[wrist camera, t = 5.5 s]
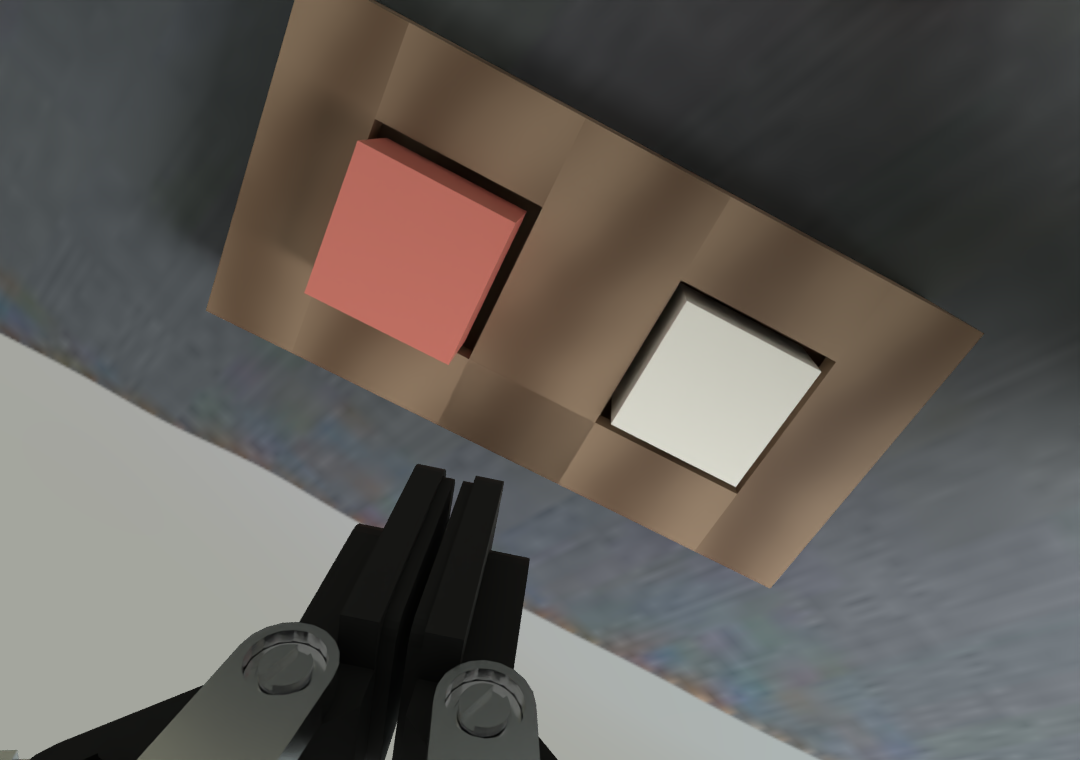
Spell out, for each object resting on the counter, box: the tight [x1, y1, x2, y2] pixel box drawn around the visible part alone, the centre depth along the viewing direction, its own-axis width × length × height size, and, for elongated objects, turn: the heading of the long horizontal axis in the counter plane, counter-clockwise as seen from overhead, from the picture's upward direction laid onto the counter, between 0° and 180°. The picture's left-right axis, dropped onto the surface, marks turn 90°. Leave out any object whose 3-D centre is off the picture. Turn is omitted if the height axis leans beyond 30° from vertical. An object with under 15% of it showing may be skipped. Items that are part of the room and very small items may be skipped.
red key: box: [304, 138, 527, 365], centre depth 25 cm, size 6×6×3 cm
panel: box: [206, 0, 984, 588], centre depth 28 cm, size 28×14×5 cm, turn 63°
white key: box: [611, 283, 821, 487], centre depth 28 cm, size 6×6×3 cm
